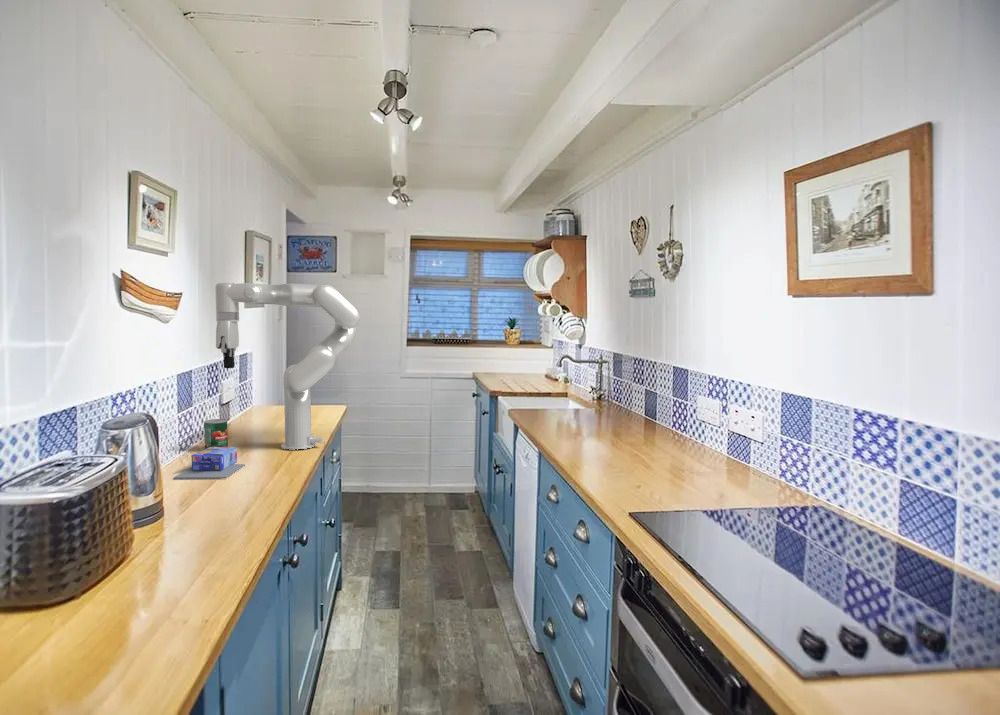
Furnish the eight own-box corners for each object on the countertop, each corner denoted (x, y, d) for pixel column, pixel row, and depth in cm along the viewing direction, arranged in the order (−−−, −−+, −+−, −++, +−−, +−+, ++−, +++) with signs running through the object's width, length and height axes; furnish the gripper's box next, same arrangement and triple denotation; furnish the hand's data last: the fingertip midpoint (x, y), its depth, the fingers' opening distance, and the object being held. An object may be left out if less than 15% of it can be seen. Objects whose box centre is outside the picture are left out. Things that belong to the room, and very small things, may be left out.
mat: (245, 465, 207) (245, 464, 207) (226, 479, 191) (226, 477, 191) (196, 466, 206) (196, 464, 206) (173, 479, 190) (173, 477, 190)
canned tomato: (222, 452, 226) (221, 422, 225) (200, 452, 226) (199, 422, 225) (231, 447, 234) (231, 418, 233) (211, 447, 234) (210, 418, 233)
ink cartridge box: (237, 446, 209) (217, 457, 194) (238, 461, 209) (218, 474, 195) (209, 445, 209) (186, 457, 195) (209, 461, 210) (187, 474, 195)
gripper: (225, 317, 229) (226, 366, 231) (208, 317, 214) (210, 370, 216) (245, 317, 230) (247, 366, 231) (230, 317, 215) (231, 370, 216)
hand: (229, 367), depth 223 cm, fingers closed
